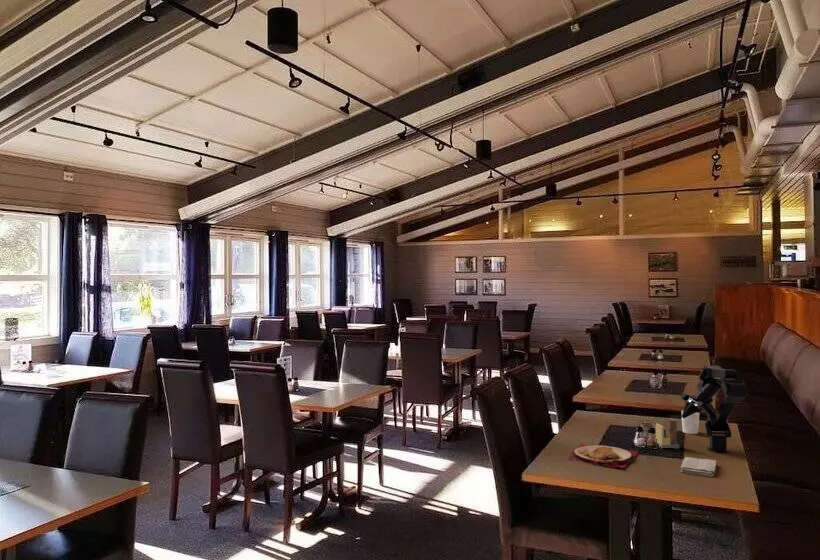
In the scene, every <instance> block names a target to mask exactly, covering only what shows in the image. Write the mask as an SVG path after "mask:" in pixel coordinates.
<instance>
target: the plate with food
mask: <svg viewBox="0 0 820 560" xmlns="http://www.w3.org/2000/svg"><path fill="white" fill-rule="evenodd" d="M638 454H639V450H633V449H630V450H628V449H624V448H620V447H616V446H609V445H603V444H602V445H598V444H597V445H587V444H583V443H580V444H579V446H578V447H577V448H574V449H573V450H572V451H571V453H570V455H569V458H567V460H568V461H573V462H574V461H577V462H578V461H580V462H583V463H585V462H586V463H587V465H591V466H599V464H598V463H601V465H602V466H605V467H608V468H610V469H612V468H620V469H625V468H626V467H628V466H629V464H630V463H631V462H632V460H634V459H635V458H636V456H637V455H638ZM572 455H574V457H575V458H573V456H572Z"/></svg>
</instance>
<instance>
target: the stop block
mask: <svg viewBox="0 0 820 560" xmlns="http://www.w3.org/2000/svg"><path fill="white" fill-rule="evenodd" d="M677 430H678V420H677V419H674V418H671V417H667V418H665V438H670V443H677V441H678V439H677V438H678V437H677V435H678V434H677V433H678V431H677ZM677 444H678V443H677Z"/></svg>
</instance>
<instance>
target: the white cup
mask: <svg viewBox="0 0 820 560" xmlns="http://www.w3.org/2000/svg"><path fill="white" fill-rule="evenodd" d="M683 410H684V409H683ZM683 410H681V411H680V412H681V414H682V413H683ZM699 425H700V413H694V414H692V415H690V416H688V417H686V418H682V417H681V427H682V432H683V433H684V434H689V435H697V434H698V433H699Z"/></svg>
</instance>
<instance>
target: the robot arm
mask: <svg viewBox="0 0 820 560" xmlns="http://www.w3.org/2000/svg"><path fill="white" fill-rule="evenodd" d="M698 378H699V379H698V380H699V381H698V382H697V385H696V388H697V392H696V393H695V394H694V395H693V394H692V395H690V394H688V393H686V392H682V394H680V395H679V397H680V398H681V399H682V400H683V401H684V402H685V403H684V407H683V413H681V419H682V418H686V417H688V416H690V415H692V414H694V413H699V414H704V415H705V416H707V418H706V420H705V422H704V426H705V427H704V428H705V434H706V437H710V438H709V447H706V448H707V450H709V451H713V452H715V453H729V452H731V451H730V450H729V449H727V448H728V447H727V446H728V444H727V443H728V440H727V439H728V438H732V431H731V428H730V424H729V422H728V419H729V417H730V416H731V413H732V412H733V410H734V408H735V407H736V405H737V404H738V403H739V402H742V401H744V400H745V399H746V397H747V396H748V394H749V388H748V385H747V382H746V380H745V379H744V378H742V377H741V376H740V375H739V374H738V372H737V370H736V369H726V368H723V367H721V366H720V365H703V366H702V368H701V370H700V373H699V375H698ZM721 379H722V380H721ZM726 380H733V381H734V382H726ZM721 389H722V391H723V394H724V397H723V398H722V400H721V402H720V404H719V406H718V408H717V410H715V408H714V406H713V404H712V403H713V400H714V399H713V398H714V397H715V396H716V395H717V394H718V393H719V392H720V391H721Z"/></svg>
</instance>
